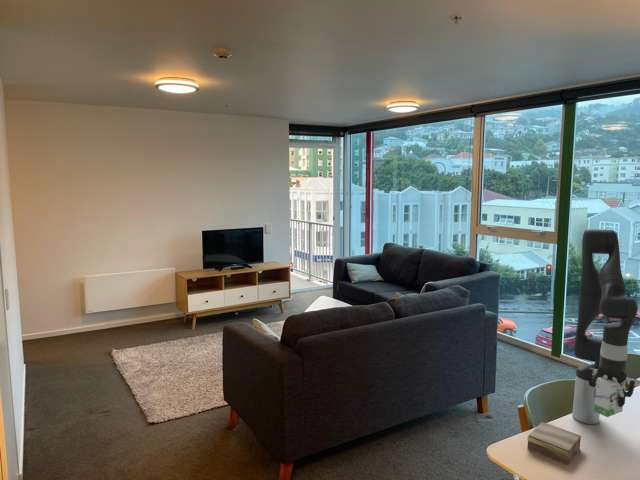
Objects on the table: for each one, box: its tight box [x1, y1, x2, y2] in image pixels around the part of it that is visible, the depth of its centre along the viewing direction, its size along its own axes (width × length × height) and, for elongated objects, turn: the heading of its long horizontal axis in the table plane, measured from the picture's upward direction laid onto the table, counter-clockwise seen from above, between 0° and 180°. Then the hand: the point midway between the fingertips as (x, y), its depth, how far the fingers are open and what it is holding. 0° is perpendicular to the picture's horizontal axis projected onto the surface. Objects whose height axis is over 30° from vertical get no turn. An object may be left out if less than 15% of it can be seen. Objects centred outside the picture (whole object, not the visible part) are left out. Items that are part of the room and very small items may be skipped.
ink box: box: [594, 377, 627, 418], centre depth 158 cm, size 8×5×12 cm, turn 116°
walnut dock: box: [526, 421, 582, 466], centre depth 164 cm, size 14×13×5 cm
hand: (608, 402), depth 158 cm, fingers closed on ink box, 6 cm apart
